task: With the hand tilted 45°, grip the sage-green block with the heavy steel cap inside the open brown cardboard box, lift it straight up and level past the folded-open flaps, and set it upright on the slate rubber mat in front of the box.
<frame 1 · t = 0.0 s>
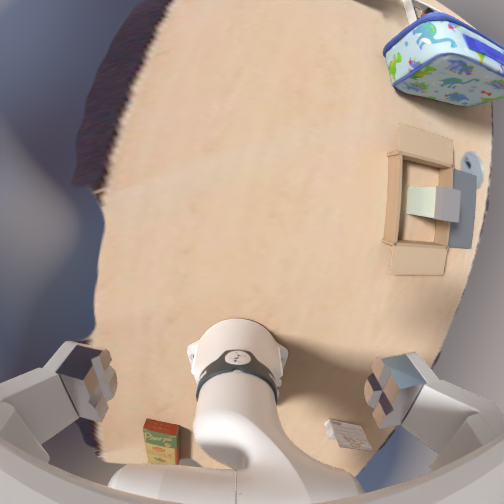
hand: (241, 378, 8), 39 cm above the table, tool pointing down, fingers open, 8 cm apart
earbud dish: (426, 23, 37), on the table
open cardboard box: (415, 201, 46), on the table
slate mat: (459, 209, 46), on the table
ink cartridge box: (342, 424, 56), on the table
lunch box: (428, 80, 41), on the table
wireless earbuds: (426, 25, 37), resting in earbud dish
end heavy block: (432, 202, 40), in the open cardboard box
carton: (164, 439, 56), on the table
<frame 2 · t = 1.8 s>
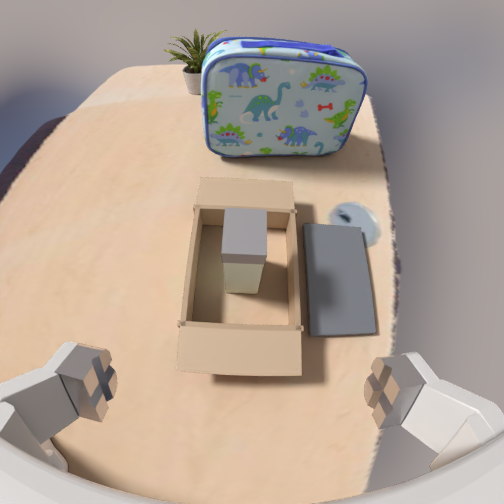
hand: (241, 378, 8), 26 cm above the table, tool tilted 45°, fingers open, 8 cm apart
open cardboard box: (242, 275, 37), on the table
slate mat: (337, 278, 37), on the table
lunch box: (275, 142, 50), on the table
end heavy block: (243, 256, 32), in the open cardboard box
house plant: (201, 87, 59), on the table
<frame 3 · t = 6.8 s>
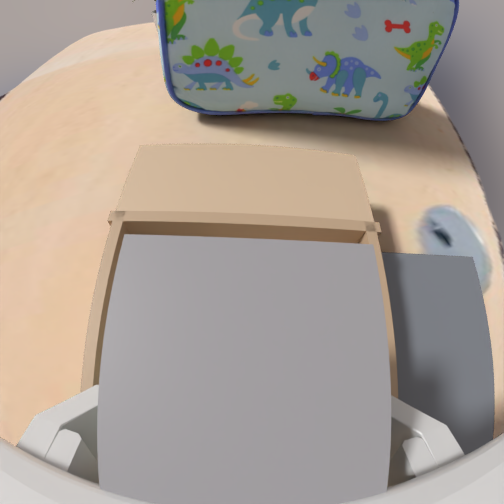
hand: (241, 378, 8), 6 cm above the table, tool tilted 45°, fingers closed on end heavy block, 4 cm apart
open cardboard box: (239, 394, 13), on the table
slate mat: (444, 372, 13), on the table
lunch box: (297, 96, 26), on the table
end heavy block: (240, 398, 8), in the open cardboard box, touching gripper
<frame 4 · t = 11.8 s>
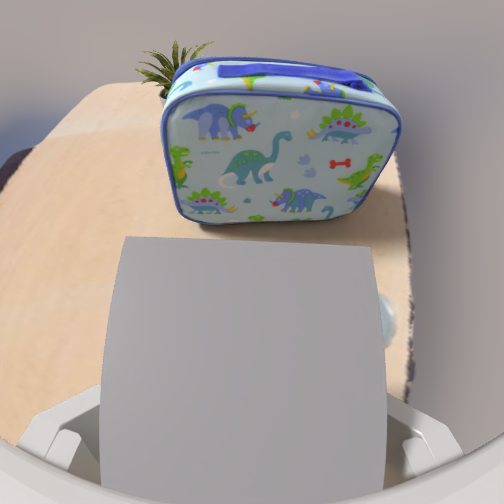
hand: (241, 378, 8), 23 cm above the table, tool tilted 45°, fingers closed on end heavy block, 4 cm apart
lunch box: (270, 198, 40), on the table
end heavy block: (239, 397, 8), point 22 cm above the table, touching gripper
house plant: (184, 114, 50), on the table
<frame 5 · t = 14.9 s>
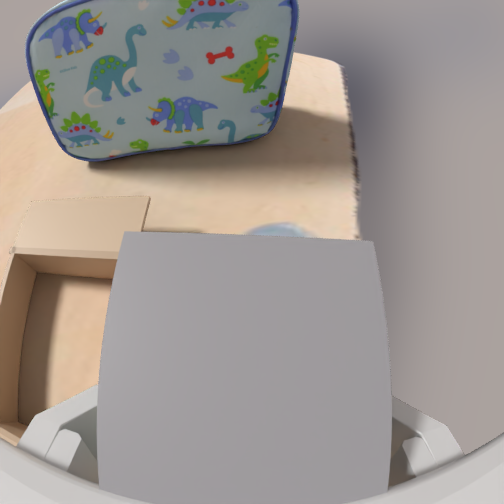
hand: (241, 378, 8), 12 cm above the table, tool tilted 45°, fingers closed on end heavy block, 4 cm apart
open cardboard box: (68, 359, 18), on the table
lunch box: (171, 130, 31), on the table
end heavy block: (240, 396, 8), point 12 cm above the table, touching gripper
when the fingers open (7 cm above the table, at t = 16.9 s): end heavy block stays where it is, resting on slate mat.
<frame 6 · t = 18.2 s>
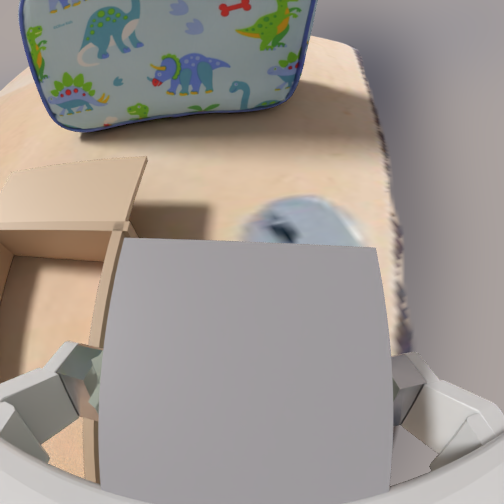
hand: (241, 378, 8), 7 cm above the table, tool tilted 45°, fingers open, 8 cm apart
open cardboard box: (42, 360, 13), on the table
lunch box: (175, 100, 26), on the table
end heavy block: (241, 400, 8), on the slate mat, point 6 cm above the table
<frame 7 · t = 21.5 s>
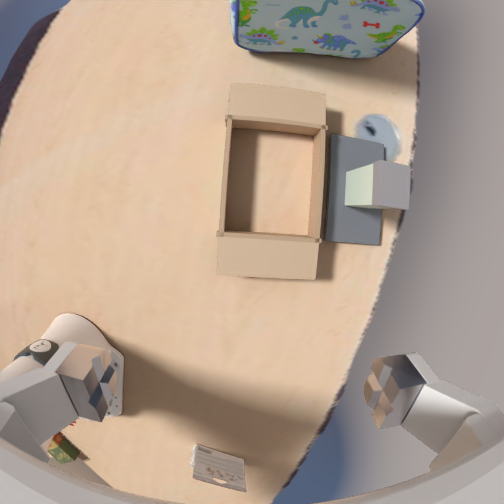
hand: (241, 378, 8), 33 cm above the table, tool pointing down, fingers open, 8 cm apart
open cardboard box: (270, 180, 39), on the table
slate mat: (354, 190, 40), on the table
ink cartridge box: (218, 453, 46), on the table
lunch box: (307, 36, 36), on the table
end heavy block: (374, 187, 33), on the slate mat, point 6 cm above the table
carton: (52, 433, 45), on the table
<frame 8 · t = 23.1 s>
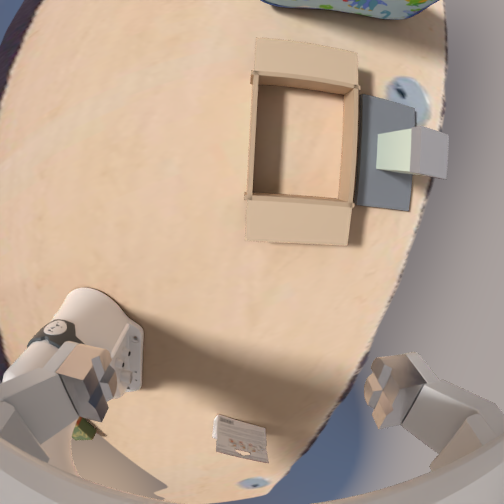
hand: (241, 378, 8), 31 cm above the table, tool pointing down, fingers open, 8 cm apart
open cardboard box: (299, 140, 35), on the table
slate mat: (385, 153, 35), on the table
ink cartridge box: (240, 422, 50), on the table
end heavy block: (409, 153, 29), on the slate mat, point 6 cm above the table
carton: (69, 410, 51), on the table
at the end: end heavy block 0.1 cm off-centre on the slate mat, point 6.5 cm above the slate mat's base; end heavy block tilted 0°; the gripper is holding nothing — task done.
